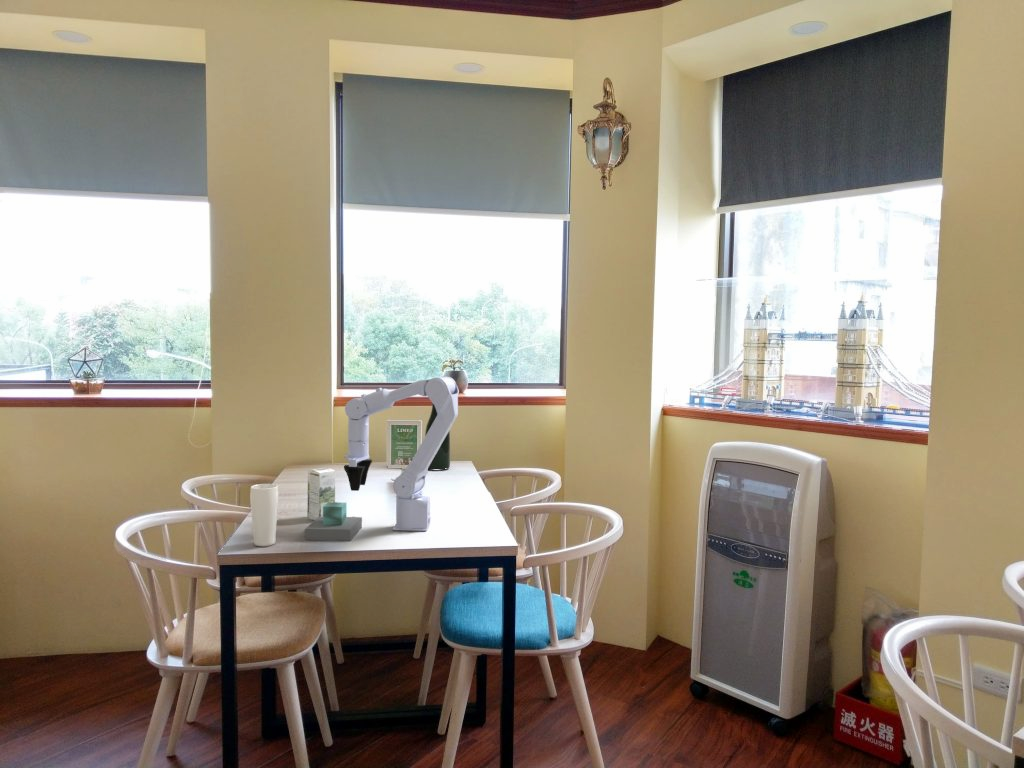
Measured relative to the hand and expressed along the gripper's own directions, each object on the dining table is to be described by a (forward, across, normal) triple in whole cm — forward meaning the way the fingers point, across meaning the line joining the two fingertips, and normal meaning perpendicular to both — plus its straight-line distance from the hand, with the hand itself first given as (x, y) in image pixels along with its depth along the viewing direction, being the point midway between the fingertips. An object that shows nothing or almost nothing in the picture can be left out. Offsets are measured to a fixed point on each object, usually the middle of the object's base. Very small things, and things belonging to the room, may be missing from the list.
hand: (358, 487), depth 205 cm
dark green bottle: (+11, -88, +12) cm, 89 cm away
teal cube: (+7, +11, -4) cm, 14 cm away
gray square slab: (+10, +11, -4) cm, 16 cm away
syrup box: (+11, -5, -12) cm, 17 cm away
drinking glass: (+11, +22, -19) cm, 31 cm away
